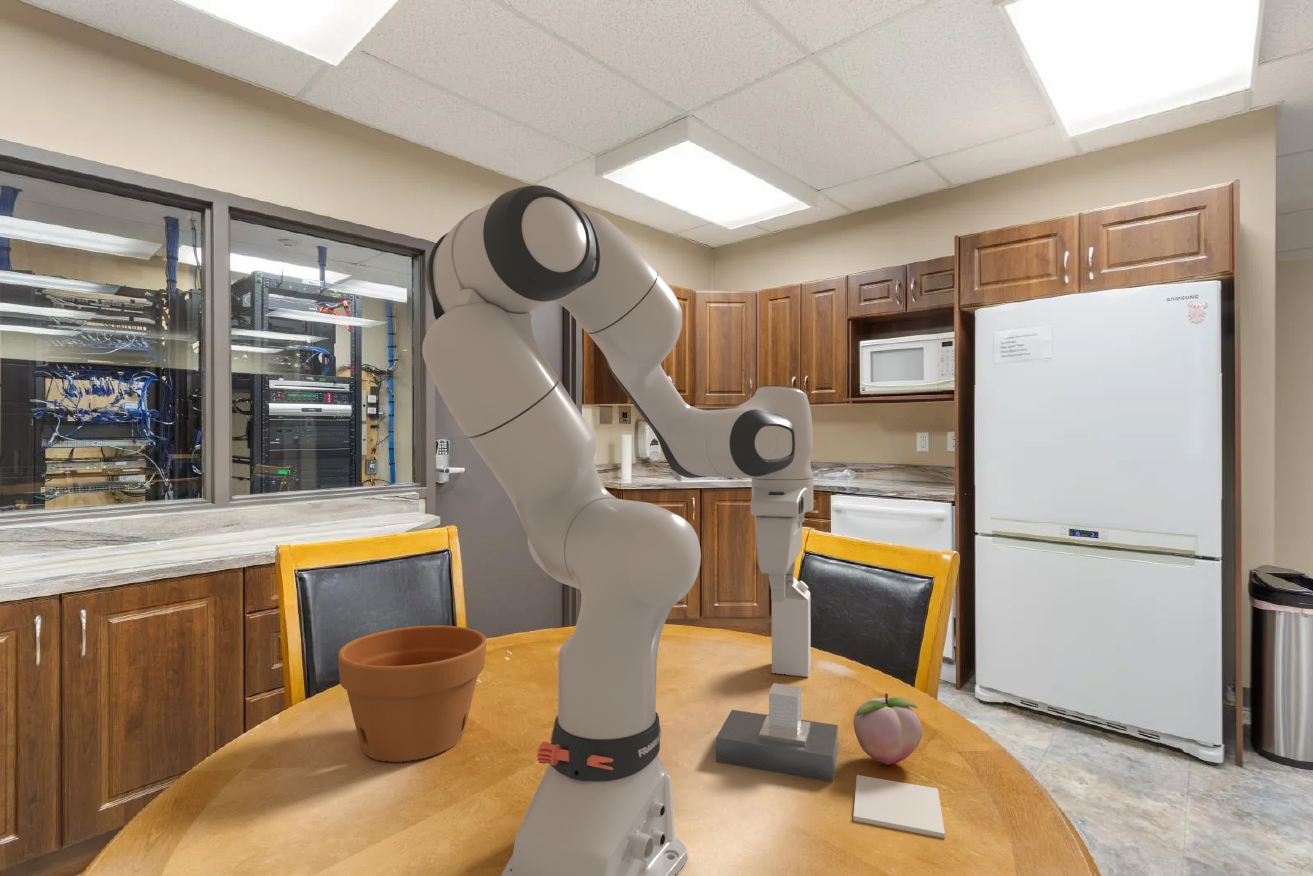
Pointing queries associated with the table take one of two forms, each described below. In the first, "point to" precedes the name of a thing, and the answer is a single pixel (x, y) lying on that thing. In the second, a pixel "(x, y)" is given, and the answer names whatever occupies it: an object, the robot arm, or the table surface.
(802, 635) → the milk carton
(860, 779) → the pad
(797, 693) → the peg
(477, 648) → the flower pot
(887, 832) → the table surface
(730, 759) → the post block
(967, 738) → the table surface
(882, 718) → the decorative fruit
